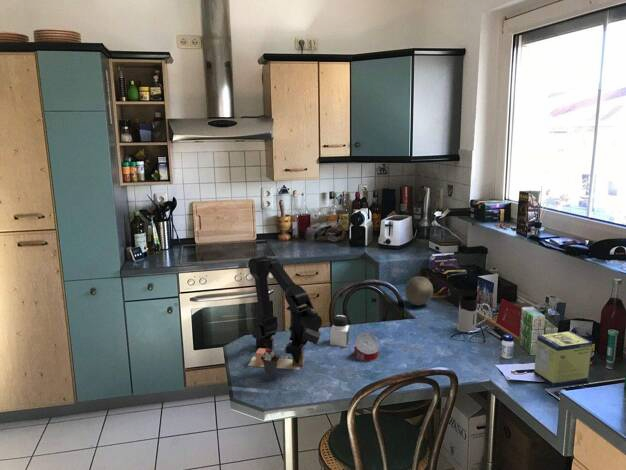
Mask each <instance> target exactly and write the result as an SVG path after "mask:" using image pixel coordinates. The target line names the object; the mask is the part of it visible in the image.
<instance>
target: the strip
mask: <svg viewBox="0 0 626 470" xmlns="http://www.w3.org/2000/svg"><path fill="white" fill-rule="evenodd" d="M291 357H292V356H291ZM304 365H305V351H303V353H302V354H301V355H300V360H299V364H297V363H296V362H295V360H294V358H293V357H292V359H291V358H280V357H279V360H278V361H277V368H276V369H285V370H286V369H288V370H300V368H301V367H304ZM248 366H249V367H261V368H262V367H263V368H264V365H263V364H256V355H255V356H253V357H252V358H251V360H250V361H249V363H248V364H247V367H248Z"/></svg>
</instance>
